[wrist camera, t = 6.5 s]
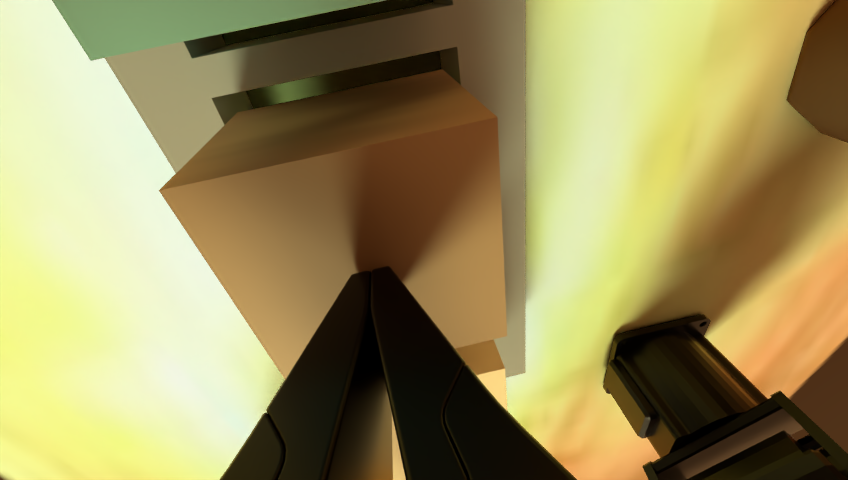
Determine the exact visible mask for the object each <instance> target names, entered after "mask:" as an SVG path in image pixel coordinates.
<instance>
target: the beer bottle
mask: <svg viewBox="0 0 848 480" xmlns="http://www.w3.org/2000/svg"><path fill="white" fill-rule="evenodd" d="M787 101H788V102H789V103H790V104H791V105H792V106H793V107H794V108H795V109H796V110H797V111H798V112H799V113H800V114H801V115H802V116H803V117H804V118H806V119H807V120H808V121H809V122H810V123H811V124H812V125H813V126H814V127H815V128H816V129H817V130H818V131H819V132H821V133H823V134H826V135H828V136H831V137H834V138H836V139H839V140H842V141H845V142H847V143H848V0H836V1H835V2H834V3H833V4H832V5H831V6H830V8H829V9H828V10H827V11H826V12H825V13H824V14H823V15H822V16H821V17H820V19H819V20H818V21H817V22H816V23H815V24H814V25H813V26H812V27H811V28H810V29H809V31H808V32H807V33H806V36H805V40H804V43H803V46H802V50H801V53H800V57H799V60H798V63H797V67H796V70H795V73H794V77H793V80H792V84H791V87H790V90H789V94H788V97H787Z"/></svg>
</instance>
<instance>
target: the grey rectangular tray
mask: <svg viewBox="0 0 848 480" xmlns="http://www.w3.org/2000/svg"><path fill="white" fill-rule="evenodd" d="M438 50H439V51H440V60H441V68H442V69H443V70H444V71H445V72H446V73H447V74H448V75H450V76H451V77H452V78H453V79H454V80H455V81H456V82H458V83H459V84H460V85H461V86H462V87H463V88H465V89H466V90H467V91H468V92H469V93H470V94H471V95H473V96H474V97H475V98H476V99H477V100H478V101H479V102H481V103H482V104H483V105H484V106H485V107H486V108H488V109H489V110H490V111H491V112H492V113H493V114H494V115H496V116H497V118H498V140H499V163H500V186H501V208H502V231H503V253H504V276H505V298H506V321H507V336H506V337H501V338H497V339H494V342H495V344H496V347H497V349H498V352H499V354H500V357H501V359H502V362H503V364H504V367H505V377H510V376H514V375H518V374H522V373H525V0H433V3H430V4H425V5H420V6H415V7H410V8H405V9H401V10H396V11H391V12H386V13H381V14H376V15H371V16H366V17H362V18H357V19H352V20H347V21H342V22H337V23H332V24H327V25H322V26H318V27H313V28H308V29H303V30H298V31H293V32H288V33H283V34H278V35H274V36H269V37H264V38H259V39H254V40H249V41H244V42H239V43H235V44H230V45H226V44H225V42H224V40H223V37H222V35H221V34H218V35H213V36H208V37H204V38H199V39H194V40H189V41H184V42H179V43H174V44H169V45H164V46H159V47H154V48H150V49H145V50H140V51H135V52H130V53H125V54H120V55H115V56H110V57H105V59H106V61H107V62H108V64H109V66H110V67H111V69H112V70H113V72H114V74H115V75H116V77H117V79H118V80H119V82H120V83H121V85H122V87H123V88H124V90H125V92H126V93H127V95H128V96H129V98H130V100H131V101H132V103H133V104H134V106H135V108H136V109H137V111H138V113H139V114H140V116H141V117H142V119H143V121H144V122H145V124H146V126H147V127H148V129H149V130H150V132H151V134H152V135H153V137H154V138H155V140H156V142H157V143H158V145H159V147H160V148H161V150H162V151H163V153H164V155H165V156H166V158H167V160H168V161H169V163H170V164H171V166H172V168H173V169H174V171H175V173H177V172H178V171H179V170H180V169H181V168H182V167H183V166H184V165H185V164H186V163H187V162H188V161H189V160H190V159H191V158H192V157H193V156H194V155H195V154H196V153H197V152H198V151H199V150H200V149H201V148H202V147H203V146H204V145H205V144H206V143H207V142H208V141H209V140H210V139H211V138H212V137H213V136H214V135H215V134H216V133H217V132H218V131H219V130H220V129H221V128H222V127H223V126H224V125H225V124H226V123H227V122H228V121H229V120H230V119H231V118H232V117H233V116H234V115H235V114H236V113H237V112H242V111H247V110H251V109H253V107H252V105H251V102H250V100H249V98H248V95H247V93H246V91H247V90H252V89H257V88H262V87H266V86H271V85H276V84H281V83H285V82H290V81H295V80H300V79H305V78H309V77H314V76H319V75H324V74H329V73H333V72H338V71H343V70H348V69H352V68H357V67H362V66H367V65H372V64H376V63H381V62H386V61H391V60H395V59H400V58H405V57H410V56H415V55H419V54H424V53H429V52H434V51H438Z"/></svg>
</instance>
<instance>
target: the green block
mask: <svg viewBox="0 0 848 480" xmlns="http://www.w3.org/2000/svg"><path fill="white" fill-rule="evenodd" d="M52 1H53V2H54V4H55V5H56V7H57V9H58V10H59V12H60V13H61V15H62V16H63V18H64V20H65V21H66V23H67V24H68V26H69V27H70V29H71V30H72V32H73V34H74V35H75V37H76V38H77V40H78V41H79V43H80V45H81V46H82V48H83V49H84V51H85V52H86V54H87V55H88V57H89V59H90V60H95V59H100V58H105V57H110V56H115V55H120V54H125V53H130V52H135V51H140V50H145V49H150V48H154V47H159V46H164V45H169V44H174V43H179V42H184V41H189V40H194V39H199V38H204V37H208V36H213V35H218V34H223V33H228V32H233V31H238V30H243V29H248V28H253V27H258V26H262V25H267V24H272V23H277V22H282V21H287V20H292V19H297V18H302V17H307V16H312V15H317V14H321V13H326V12H331V11H336V10H341V9H346V8H351V7H356V6H361V5H366V4H371V3H375V2H380V1H385V0H52Z"/></svg>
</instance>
